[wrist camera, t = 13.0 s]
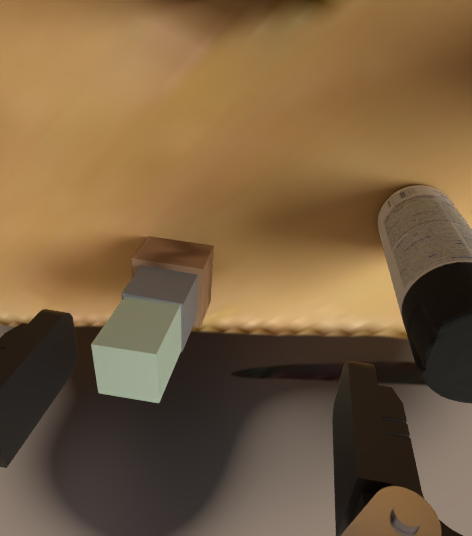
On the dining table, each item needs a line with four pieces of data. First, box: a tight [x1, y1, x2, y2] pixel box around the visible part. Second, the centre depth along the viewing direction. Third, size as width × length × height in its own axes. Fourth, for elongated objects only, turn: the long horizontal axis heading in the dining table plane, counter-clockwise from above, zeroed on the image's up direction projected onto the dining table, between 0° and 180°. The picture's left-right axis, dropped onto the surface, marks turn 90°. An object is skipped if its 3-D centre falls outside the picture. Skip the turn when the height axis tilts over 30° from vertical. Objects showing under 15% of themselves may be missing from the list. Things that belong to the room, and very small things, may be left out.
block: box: [91, 297, 181, 403], centre depth 36 cm, size 5×5×6 cm
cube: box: [122, 265, 198, 353], centre depth 41 cm, size 6×6×5 cm
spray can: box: [378, 185, 472, 403], centre depth 32 cm, size 7×7×20 cm
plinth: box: [132, 236, 214, 328], centre depth 45 cm, size 7×7×5 cm
